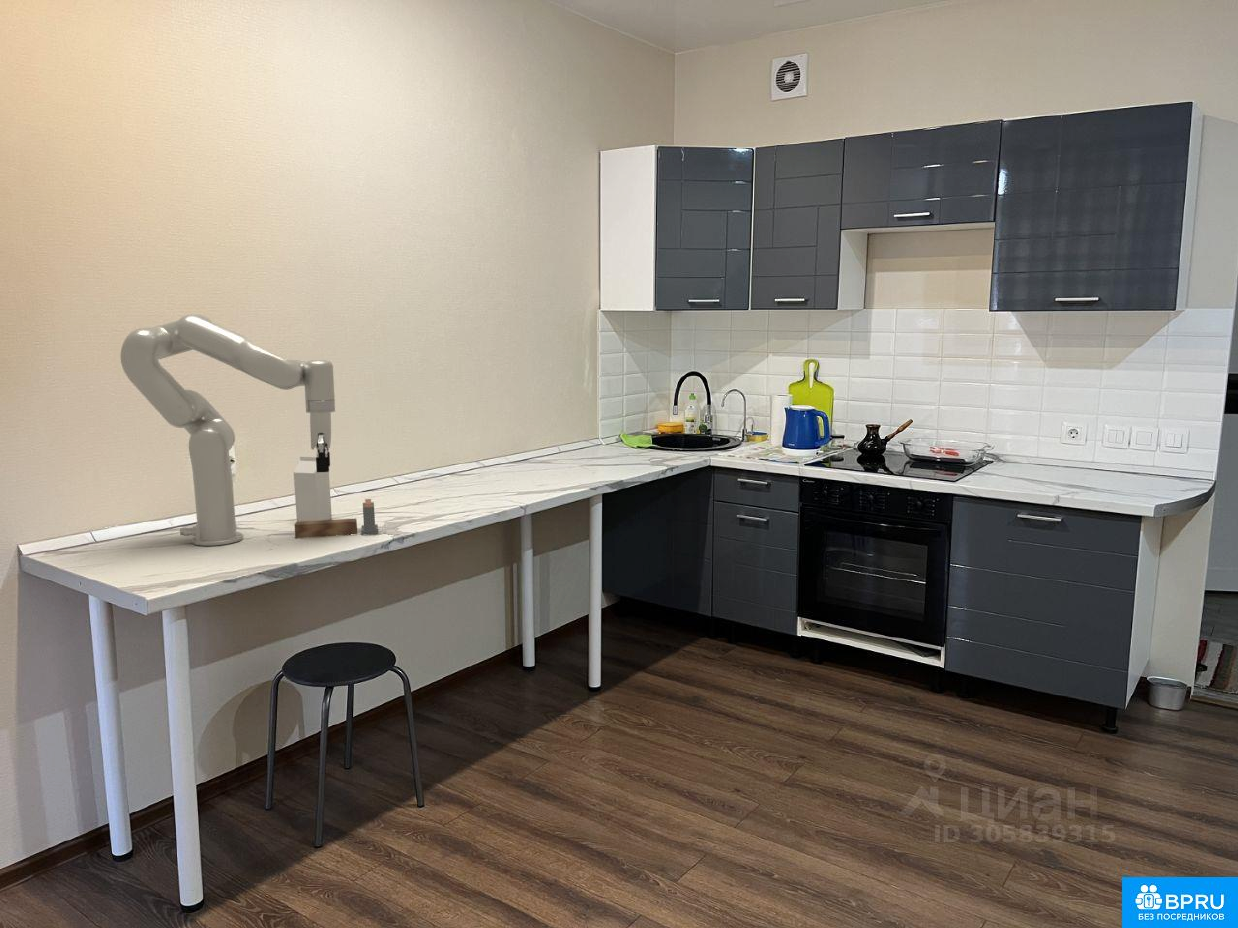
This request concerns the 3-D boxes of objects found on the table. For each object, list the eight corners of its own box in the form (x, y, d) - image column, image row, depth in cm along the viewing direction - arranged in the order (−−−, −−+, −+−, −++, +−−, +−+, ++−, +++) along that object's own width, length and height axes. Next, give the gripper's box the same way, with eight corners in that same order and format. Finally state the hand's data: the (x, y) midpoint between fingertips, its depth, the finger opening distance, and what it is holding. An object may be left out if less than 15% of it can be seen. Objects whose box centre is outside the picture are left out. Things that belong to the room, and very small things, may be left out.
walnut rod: (295, 539, 257) (294, 524, 256) (297, 535, 261) (296, 521, 260) (356, 535, 260) (355, 521, 259) (357, 532, 264) (356, 518, 263)
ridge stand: (361, 534, 259) (359, 504, 258) (361, 529, 266) (359, 499, 265) (378, 533, 260) (376, 503, 259) (377, 528, 267) (376, 498, 266)
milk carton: (317, 524, 273) (313, 459, 270) (296, 523, 275) (292, 458, 272) (332, 519, 280) (328, 455, 277) (311, 517, 282) (307, 455, 279)
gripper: (307, 404, 262) (310, 465, 265) (304, 409, 246) (307, 474, 248) (335, 403, 264) (338, 463, 267) (334, 409, 248) (337, 473, 250)
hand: (323, 469), depth 257 cm, fingers open, 9 cm apart
